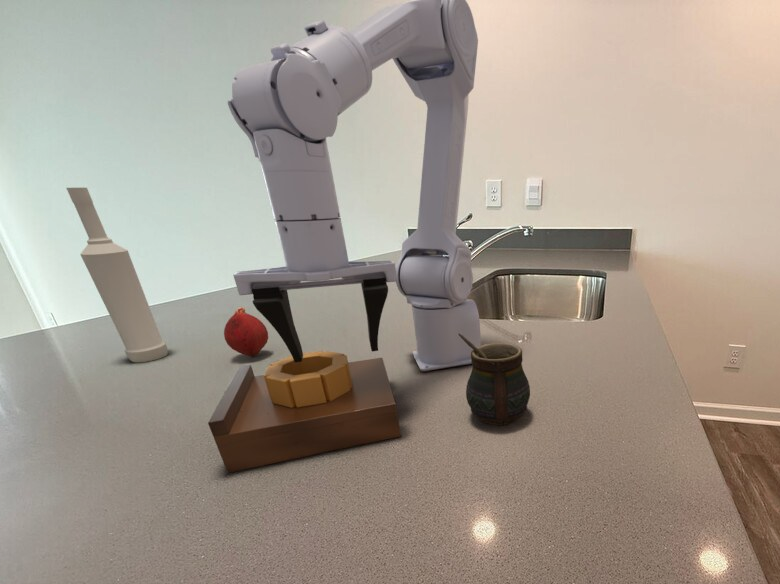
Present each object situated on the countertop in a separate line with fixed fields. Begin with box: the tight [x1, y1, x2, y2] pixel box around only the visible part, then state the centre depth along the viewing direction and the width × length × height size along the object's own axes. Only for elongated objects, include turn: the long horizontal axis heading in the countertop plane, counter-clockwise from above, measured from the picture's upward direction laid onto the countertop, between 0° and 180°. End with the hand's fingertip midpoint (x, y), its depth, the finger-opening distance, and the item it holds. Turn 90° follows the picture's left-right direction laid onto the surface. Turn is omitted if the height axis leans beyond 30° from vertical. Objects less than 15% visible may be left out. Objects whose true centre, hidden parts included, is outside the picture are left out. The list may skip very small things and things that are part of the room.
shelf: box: [207, 357, 402, 474], centre depth 45 cm, size 16×14×6 cm
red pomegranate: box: [223, 306, 269, 358], centre depth 64 cm, size 6×6×8 cm
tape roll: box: [263, 350, 352, 408], centre depth 44 cm, size 8×8×3 cm
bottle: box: [66, 187, 169, 363], centre depth 61 cm, size 5×5×25 cm
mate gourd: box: [458, 333, 531, 427], centre depth 45 cm, size 7×8×10 cm
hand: (337, 353), depth 44 cm, fingers open, 7 cm apart
